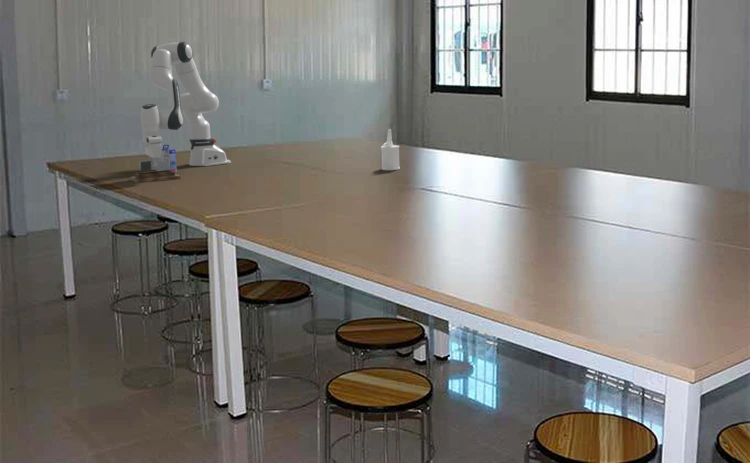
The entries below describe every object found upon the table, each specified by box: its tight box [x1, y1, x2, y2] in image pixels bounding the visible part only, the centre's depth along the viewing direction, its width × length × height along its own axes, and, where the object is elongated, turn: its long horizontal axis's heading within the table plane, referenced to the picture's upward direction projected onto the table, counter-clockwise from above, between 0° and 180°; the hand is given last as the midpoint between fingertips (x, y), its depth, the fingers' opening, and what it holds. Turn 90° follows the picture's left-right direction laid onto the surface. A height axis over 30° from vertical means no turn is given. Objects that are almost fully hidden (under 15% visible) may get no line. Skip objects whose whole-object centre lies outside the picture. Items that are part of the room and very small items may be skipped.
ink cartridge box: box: [155, 144, 178, 174], centre depth 468 cm, size 10×6×14 cm, turn 63°
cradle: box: [130, 170, 181, 184], centre depth 449 cm, size 22×12×4 cm, turn 116°
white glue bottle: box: [380, 128, 401, 171], centre depth 453 cm, size 10×9×20 cm
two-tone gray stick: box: [138, 159, 169, 172], centre depth 447 cm, size 14×4×4 cm, turn 115°
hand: (154, 165), depth 448 cm, fingers closed on two-tone gray stick, 3 cm apart
